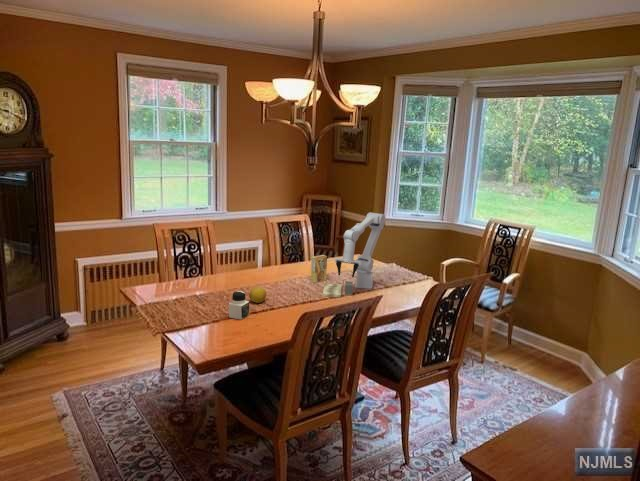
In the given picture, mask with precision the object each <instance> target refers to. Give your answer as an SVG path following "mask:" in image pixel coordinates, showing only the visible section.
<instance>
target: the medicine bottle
mask: <svg viewBox="0 0 640 481" xmlns="http://www.w3.org/2000/svg"><path fill="white" fill-rule="evenodd" d="M248 316H250V301H249V300H246V293H245V292H244V291H240V290H238V291H234V292H233V293H232V301H231V302H229V303H228V317H229V318H230V319H234V320H235V319H236V320H240V321H242V320H244V319H245V318H247V317H248Z"/></svg>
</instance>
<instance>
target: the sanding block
mask: <svg viewBox="0 0 640 481" xmlns="http://www.w3.org/2000/svg"><path fill="white" fill-rule="evenodd" d="M344 286H345V287H344V290H345V291H344V296H346V297H348V296H349V297H352V296H353V286H354V284H353V281H345V284H344Z"/></svg>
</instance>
